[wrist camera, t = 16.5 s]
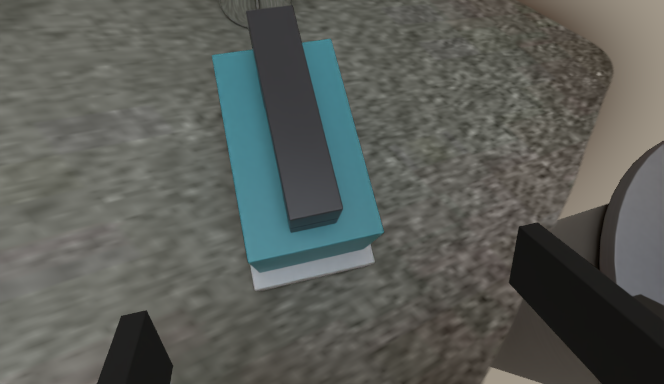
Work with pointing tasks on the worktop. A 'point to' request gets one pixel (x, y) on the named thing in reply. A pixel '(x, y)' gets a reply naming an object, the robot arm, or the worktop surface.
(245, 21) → the beer glass
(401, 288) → the worktop surface
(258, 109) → the teal slab with bar
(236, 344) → the worktop surface
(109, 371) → the robot arm
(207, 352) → the worktop surface
